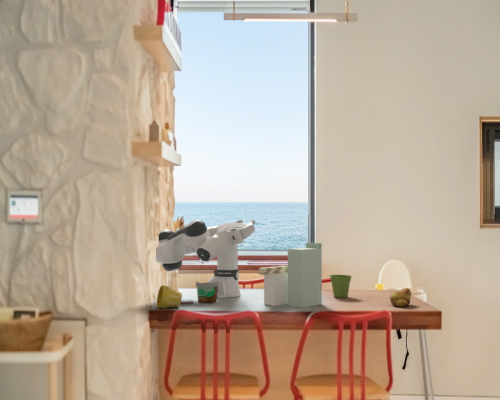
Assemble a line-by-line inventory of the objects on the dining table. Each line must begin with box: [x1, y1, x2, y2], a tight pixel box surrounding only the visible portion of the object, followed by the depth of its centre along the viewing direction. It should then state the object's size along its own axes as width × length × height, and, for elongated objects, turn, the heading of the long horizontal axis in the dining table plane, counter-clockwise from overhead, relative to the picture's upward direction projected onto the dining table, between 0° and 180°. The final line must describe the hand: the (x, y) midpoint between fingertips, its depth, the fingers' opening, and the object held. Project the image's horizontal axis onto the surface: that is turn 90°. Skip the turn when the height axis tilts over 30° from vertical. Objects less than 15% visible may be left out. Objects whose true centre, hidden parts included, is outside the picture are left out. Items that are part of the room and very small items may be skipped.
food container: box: [195, 281, 219, 304], centre depth 254 cm, size 12×6×10 cm, turn 70°
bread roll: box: [389, 287, 412, 308], centre depth 246 cm, size 13×10×8 cm
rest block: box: [263, 272, 288, 307], centre depth 251 cm, size 12×7×15 cm, turn 130°
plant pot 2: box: [329, 274, 353, 299], centre depth 271 cm, size 12×12×11 cm
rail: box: [258, 264, 288, 276], centre depth 251 cm, size 20×3×3 cm, turn 130°
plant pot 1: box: [156, 285, 183, 309], centre depth 240 cm, size 10×10×10 cm
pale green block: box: [287, 242, 323, 309], centre depth 248 cm, size 14×9×30 cm, turn 130°
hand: (247, 221), depth 242 cm, fingers open, 8 cm apart
